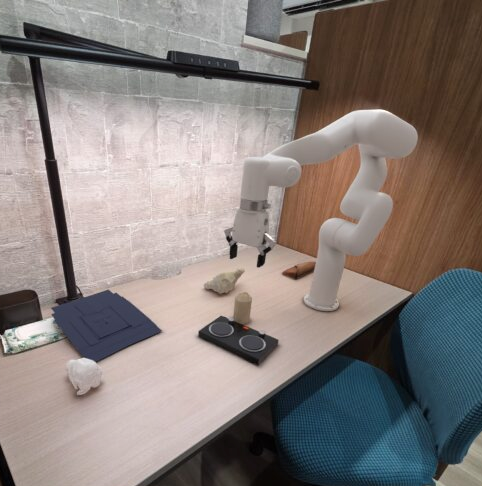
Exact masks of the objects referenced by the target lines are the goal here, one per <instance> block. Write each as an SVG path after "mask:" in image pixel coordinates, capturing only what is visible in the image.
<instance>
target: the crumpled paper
mask: <svg viewBox="0 0 482 486" xmlns="http://www.w3.org/2000/svg"><path fill="white" fill-rule="evenodd" d="M65 372H67V373H66V377H67V378H68V379H69V381H70V383H71V384H72V385H73V388H74V390H77V389H78V388H79V390H78V391H76V395H77V396H82V395H85V394H87V393H88V392H89V391H90V390H91V388H92V389H93V388H97V387H100V385H101V381H102V378H103V369H102V368H101V367H100V366H99V364H98V363H97V361H96V362H94V361H93V360H90V359H87V358H84V357H80V358H78V359H69V360H67V362H66V364H65Z"/></svg>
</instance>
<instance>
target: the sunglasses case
mask: <svg viewBox="0 0 482 486" xmlns="http://www.w3.org/2000/svg"><path fill="white" fill-rule="evenodd" d="M315 264H316V261H305V262H302V263H301V262H300V263H297V264H295V265H294V266H291V267H289V268H287V269H285V270H284V271H282V272H281V273H282V275H284V276H286V277H288V278H290V279H291V280H296V279H299V278H300V277H302V276H305V275H306V274H309V273H310V272H314V269H315Z"/></svg>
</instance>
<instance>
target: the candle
mask: <svg viewBox="0 0 482 486" xmlns="http://www.w3.org/2000/svg"><path fill="white" fill-rule="evenodd" d="M252 303H253V297H252V296H251V294H249V293H248V292H246V291H245V292H241V293H238V294H235V297H234V306H233V316H232V318H234V319H235V322H238V323H240V324H243V325H247V324H249V322H250V320H251V319H250V318H251V312H252V305H253V304H252Z"/></svg>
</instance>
